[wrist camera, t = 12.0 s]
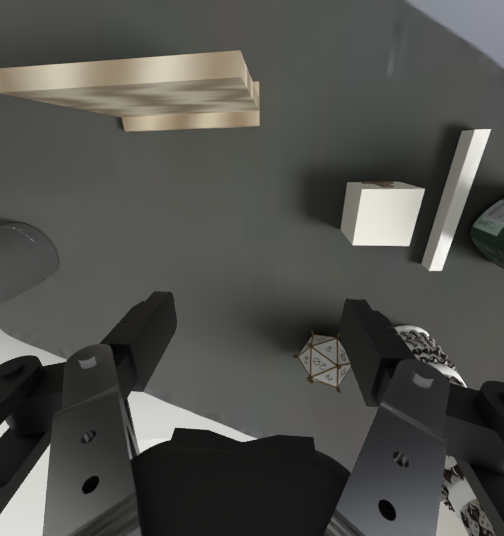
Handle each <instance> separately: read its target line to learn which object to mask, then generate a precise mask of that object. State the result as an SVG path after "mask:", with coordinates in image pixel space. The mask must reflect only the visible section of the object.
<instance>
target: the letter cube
mask: <svg viewBox="0 0 504 536" xmlns="http://www.w3.org/2000/svg"><path fill="white" fill-rule="evenodd" d="M424 191H425V189H424V188H420V187H416V186H413V185H409V184H405V183H402V182H390V181H381V182H347V188H346V195H345V202H344V209H343V216H342V222H341V231H342V232H343V233H344V235H345V236H346V237H347V239H348V240H349V241H350V243H351V244H352V245H377V246H409V245H410V241H411V238H412V234H413V231H414V227H415V224H416V220H417V216H418V213H419V209H420V206H421V202H422V199H423V195H424Z"/></svg>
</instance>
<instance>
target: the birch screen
mask: <svg viewBox="0 0 504 536" xmlns="http://www.w3.org/2000/svg"><path fill="white" fill-rule="evenodd" d="M0 94H5V95H10V96H15V97H20V98H26V99H31V100H36V101H41V102H46V103H51V104H56V105H61V106H66V107H71V108H76V109H81V110H86V111H91V112H96V113H101V114H106V115H111V116H116V117H121V118H122V121H123V126H124V130H125V131H126V132H138V131H161V130H185V129H208V128H232V127H255V126H260V103H259V81H258V82H252V79H251V77H250V74H249V72H248V69H247V66H246V64H245V61H244V59H243V56H242V54H241V51H226V52H213V53H200V54H187V55H173V56H160V57H147V58H133V59H120V60H107V61H93V62H80V63H67V64H54V65H40V66H27V67H14V68H0Z"/></svg>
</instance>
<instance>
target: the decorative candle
mask: <svg viewBox="0 0 504 536" xmlns="http://www.w3.org/2000/svg"><path fill="white" fill-rule="evenodd" d="M394 328H395V329H396V331H397V332H398V333H399V335H400V336H401V337H402V339H403V340H404V342H405V343H406V344H407V346H408V347H409V348H410V350H411V351H412V353H413V354H414V355H415V357H416V358H417V359H418V360H420V361H423V362H425V363H428V364H430V365H432V366H433V367H435V368H436V369H438V370H439V371H440V372H441V373H442V374H443V375H444V376H445V377H446V378H447V380H448V382H450V383H453V384H456V385H460V386H463V387H466V385H465V383H464V382H463V380H462V379H461V377H460V376H459V372H458V371H457V370H456V367H455V365H454V364H453V363H451V362H450V361H448V356H447V355H444V353H443V352H442V351H441V348H440V346H439V345H437V344H436V343H435V341H434V339H433V338H432V337H430V336H429V334H428V333H427V332H426V331H425V330H423V329H421V328H420V327H416V326H411V325H404V326H397V327H394ZM445 485H446V486H445ZM441 493H442V494H444V495H446V496H445V497H446V498H447V499H446V500H445V501H444V504H445V505H447V506H449V510H453V511H454V512H456V515H457V516H458V518H459V519H460V520H461V522H462V523H463V524H464V526H465V528H466V530H467V532H468V534H469V536H497V534H496V532H495V530H494V529H493V527H492V525H491V523H490V521H489V520H488V518H487V516H486V514H485V512H484V511H483V509H482V507H481V505H480V503H479V502H478V500H477V498H476V496H475V494H474V493H473V491H472V489H471V487H470V485H469V484H468V482H467V480H466V478H465V476H464V475H463V473H462V471H461V469H460V467H459V466H458V464H457V462H456V460H455V458H454V457H451V456H449V455H446V460H445V468H444V476H443V483H442V491H441ZM448 498H449V499H448ZM449 500H450V501H449ZM450 502H451V503H450Z"/></svg>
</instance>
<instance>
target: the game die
mask: <svg viewBox="0 0 504 536" xmlns="http://www.w3.org/2000/svg"><path fill="white" fill-rule="evenodd" d="M311 334H312V336H311V338H310V339H309V340H308V342H307V343H306V345H305V346H304V348H303V349H302V350H301V352H300V353H299V355H295V354H294V355H293V357H294V358H298V359H299V360H300V362H301V364H302V365H303V367H304V369H305V370H306V372H307V374H308V375H309V377H308V378H307V382H310V384H312V383H313V382H314V381H317V382H320V383H323V384H326V385H329V386H332V387H335V388H337V392H338V393H341V390H340V389H339V385H340V384H341V382H342V380H343V379H344V377H345V376H346V374H347V373H348V371H349V369H350V368H351V364H350V362H349V359H348V357H347V354H346V352H345V349H344V347H343V345H342V344H341V342H340V341H339V339H338V338H340V333H339V334H337V335H336V337H330V336H323V335H316V334H314V332H313V330H311Z"/></svg>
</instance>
